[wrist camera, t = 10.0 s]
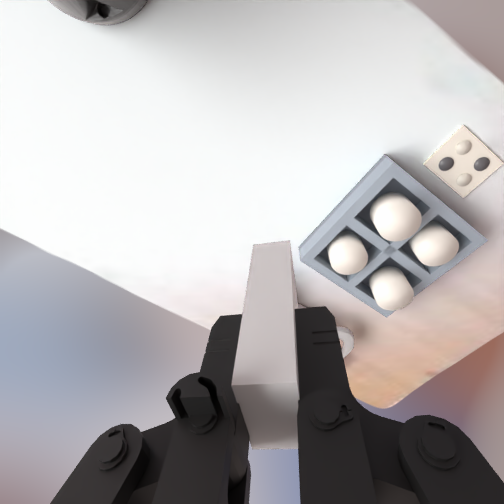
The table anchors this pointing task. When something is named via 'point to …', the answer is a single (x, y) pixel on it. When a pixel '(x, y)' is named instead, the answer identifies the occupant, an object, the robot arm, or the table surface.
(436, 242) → the button
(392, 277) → the button
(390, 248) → the button board
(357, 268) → the button
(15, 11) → the table surface
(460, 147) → the card
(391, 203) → the button
